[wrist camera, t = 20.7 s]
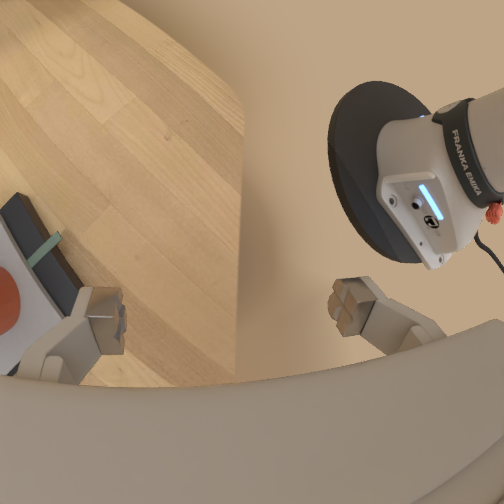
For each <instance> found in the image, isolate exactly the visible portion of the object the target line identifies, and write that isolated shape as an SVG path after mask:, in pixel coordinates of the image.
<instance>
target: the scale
mask: <svg viewBox="0 0 504 504" xmlns="http://www.w3.org/2000/svg"><path fill="white" fill-rule="evenodd" d="M62 239H63V238H62V237H61V235H60V234H59V232H58V231H57V232H56V233H55V234H54V235H52V236H50V234H49V233H48V231H47V229H46V228H45V226H44V224H43V223H42V221H41V219H40V218H39V216H38V214H37V212H36V211H35V209H34V207H33V205H32V204H31V202H30V200H29V198H28V197H27V196H25V195H23V194H20V193H18V192H17V193H16V194H15V195H14V196H13V197H12V198H11V199H10V200H9V201H8V202H7V203H6V204H5V205H4V206H3V207H2V208H1V209H0V267H2V268H4V269H5V270H6V271H8V272H9V274H10V275H11V276H12V278H13V279H14V281H15V283H16V285H17V288H18V291H19V295H20V304H21V305H20V314H19V317H18V320H17V322H16V324H15V325H14V326H13V327H12V328H11V329H10V330H8V331H7V332H6V333H4V334H2V335H1V336H0V374H1V375H6V376H12V377H13V376H14V375H15V374H16V373H17V370H18V367H19V364H20V361H21V358H22V356H23V353H24V351H25V350H26V349H28V348H29V347H30V346H31V345H32V344H34V343H35V342H36V341H37V340H38V339H40V338H41V337H42V336H43V335H44V334H46V333H47V332H48V331H49V330H50V329H52V328H53V327H54V326H55V325H57V324H58V323H59V322H60V321H62V320H63V319H64V318H65V317H67V316H69V317H70V315H71V312H72V310H73V307H74V304H75V301H76V298H77V296H78V293H79V290H80V288H81V287H85V286H84V285H83V283H82V282H81V281H80V279H79V278H78V276H77V275H76V274H75V272H74V271H73V269H72V268H71V266H70V265H69V264H68V262H67V261H66V259H65V258H64V256H63V255H62V253H61V252H60V250H59V249H58V247H57V244H58V243H59V242H60V241H61V240H62Z"/></svg>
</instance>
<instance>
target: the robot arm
mask: <svg viewBox="0 0 504 504" xmlns="http://www.w3.org/2000/svg"><path fill="white" fill-rule="evenodd" d="M376 153H377V164H378V172H379V177H378V182H377V187H376V197H377V200H378V202H379V203H380V204H381V206H382V207H383V208H384V210H385V211H386V212H387V214H388V215H389V216H390V217H391V219H392V220H393V221H394V223H395V224H396V225H397V227H398V228H399V230H400V231H401V232H402V234H403V235H404V236H405V238H406V239H407V241H408V242H409V244H410V245H411V246H412V248H413V249H414V251H415V252H416V254H417V255H418V257H419V258H420V260H421V261H422V263H423V264H424V265H425V267H426V268H427V269H428V270H431V269H432V270H433V269H437V268H439V267H441V266H442V265H444V264H445V263H446V262H447V261H448V259H449V258H450V257H451V256H452V254H453V253H454V252H457V251H459V250H461V249H463V248H464V247H466V246H467V245H468V244H469V243H470V241H471V240H472V239H473V238H474V239H475V242H476V243H477V245H478V246H479V247H480V248H481V249H483V250H484V251H486V252H487V253H488V254H489V255H490V256H491V257H492V258H493V259H494V261H495V262H496V263H497V265H498V266H499V268H500V269H501V270H502V272H503V273H504V267H503V265H502V264H501V262H500V261H499V259H498V258H497V257H496V255H495V254H494V253H493V252H492V251H491V250H490V249H489V248H488V247H487V246H485V245H484V244H483V243H481V241H480V239H479V237H478V228H479V226H480V223H481V221H482V218H483V216H484V213H485V210H486V207H487V206H489V209H488V210H487V212H486V219H487V221H488V222H491V224H493V223H494V224H497V223H498V222H499V220H500V216H501V215H502V212H503V211H502V207H501V205H503V204H504V88H502V89H500V90H497V91H495V92H493V93H491V94H488V95H486V96H483V97H481V98H478V99H474V98H468V99H465V100H462V101H461V100H459V101H457V102H454V103H451V104H449V105H447V106H444V107H442V108H440V109H439V110H438V111H436V112H435V113H434V114H431V115H427V116H424V115H423V116H421V117H418V118H413V119H407V120H394V121H390V122H388V123H387V124H386V125H385V126H384V127H383V128H382V130H381V131H380V134H379V136H378V140H377V150H376ZM389 200H390V201H389ZM332 288H333V290H334V292H333V293H332V294H331V295H330V296H329V300H328V311H329V314H330V316H331V318H332V319H334V320H336V321H337V325H336V326H337V328H338V330H339V331H340V333H341V335H342V336H343V337H347V336H354V335H360V336H362V337H363V338H364V339H366V340H367V341H368V342H370V343H371V344H372V345H374V346H375V347H376V348H378V349H379V350H381V351H382V352H383V353H384V354H386V355H387V356H384V357H380V358H376V359H372V360H368V361H364V362H360V363H356V364H351V365H346V366H342V367H337V368H332V369H327V370H322V371H317V372H311V373H306V374H300V375H294V376H287V377H281V378H274V379H267V380H259V381H251V382H242V383H231V384H220V385H206V386H189V387H157V388H133V387H102V386H86V385H79V384H80V382H81V381H82V380H83V378H84V377H85V376H86V375H87V373H88V372H89V371H90V370H91V368H92V367H93V366H94V364H95V363H96V362H97V361H98V359H99V358H100V357H101V355H123V354H124V345H125V338H124V333H125V332H126V328H127V315H126V308H125V306H124V305H123V304H122V300H123V293H122V289H121V288H120V287H81V288H80V290H79V293H78V296H77V298H76V301H75V304H74V307H73V310H72V312H71V315H70V317H69V316H67V317H65V318H64V319H63V320H62V321H60V322H59V323H58V324H57V325H55V326H54V327H53V328H52V329H50V330H49V331H48V332H47V333H46V334H44V335H43V336H42V337H41V338H40V339H38V340H37V341H36V342H35V343H34V344H32V345H31V346H30V347H29V348H28V349H26V350H25V351H24V353H23V356H22V358H21V361H20V364H19V367H18V370H17V373H16V376H15V377H12V376H6V375H1V374H0V504H504V322H502V321H500V320H498V319H493V320H490V321H487V322H485V323H483V324H480V325H478V326H475V327H473V328H470V329H468V330H465V331H462V332H460V333H457V334H454V335H452V336H449V337H447V336H446V334H445V333H444V332H443V331H442V330H441V328H440V327H439V326H438V325H437V323H436V322H435V321H434V320H432V319H430V318H428V317H426V316H424V315H422V314H420V313H418V312H416V311H415V310H413V309H411V308H409V307H407V306H405V305H403V304H401V303H399V302H397V301H395V300H393V299H388V298H387V297H386V295H385V294H384V293H383V292H382V291H381V289H380V288H379V287H378V286H377V285H376V284H375V283H374V281H373V280H372V279H371V278H370V277H368V276H363V277H357V278H345V279H336V280H335V282H334V284H333V287H332Z"/></svg>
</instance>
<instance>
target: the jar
mask: <svg viewBox="0 0 504 504" xmlns="http://www.w3.org/2000/svg"><path fill="white" fill-rule="evenodd" d="M20 305H21V304H20V295H19V291H18V288H17V285H16V283H15V281H14V279H13V278H12V276H11V275H10V274H9V272H8V271H6V270H5V269H4V268H2V267H0V336H1V335H2V334H4V333H6V332H7V331H8V330H10V329H11V328H12V327H13V326H14V325H15V324H16V322H17V320H18V317H19V314H20Z"/></svg>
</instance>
